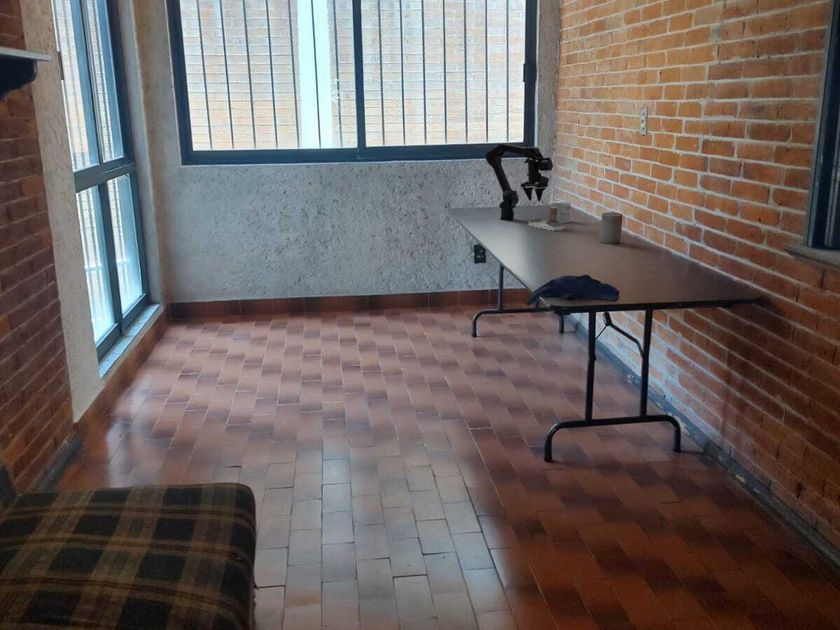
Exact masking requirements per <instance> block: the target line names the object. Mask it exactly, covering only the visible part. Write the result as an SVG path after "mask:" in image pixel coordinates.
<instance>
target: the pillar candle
mask: <svg viewBox="0 0 840 630" xmlns="http://www.w3.org/2000/svg"><path fill="white" fill-rule="evenodd" d="M622 229H623V213H620V212H613V211H612V212H609V211H608V212H602V213H601V224H600V235H599V242H600V243H602V242H603V243H602V244H606V243H608V244H607V245H616V243H618V244H621V236H622Z"/></svg>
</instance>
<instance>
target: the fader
mask: <svg viewBox="0 0 840 630" xmlns="http://www.w3.org/2000/svg"><path fill="white" fill-rule="evenodd" d="M557 208H558V204H555V203H553V204H551V203H550V205H549V217H548V220H547V221H546V222H547V224H548V225H552V223H558V221H557Z"/></svg>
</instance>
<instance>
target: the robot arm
mask: <svg viewBox="0 0 840 630" xmlns="http://www.w3.org/2000/svg"><path fill="white" fill-rule="evenodd" d="M505 152H507V153H513V154H517V155H521V156H523V157H525V158H526V159H525V161H524V164H527V173H526V176H527V177H528V179H527V180H528V181H521V183H520V188H522V190H523V192H524V193H525V196H526V197H527V199H528V201H529V202H531V201H532V197H533V190H534V192H535V195H536V198H537V201H538V202H541V200H542V197H543V194H544V191H545V190H546V189H547V188H548V187H549V182H550V177H547V176H544V175H542V173H541V172H548V171H549V172H550V171H552V170H553V168H554V163H553V161H552V159H551V157H549V156H548V157H544V156H543V154H542V153H541V150H540V148H539V147H537V146H528V147H527V146H520V145H519V146H518V145H513V144H508V143H504V142H502V143H500V144H498V145H497V146H496V147H494V148H493V149H492V150H490V151H487V153H486V154H485V161H486V162H487V164H488V165H489V166H490V167H491V168H492V169H493V172H494V174H495V176H496V179H497V182H498V183H499V186H500V188H501V189H500V190H501V191H502V201H501V202H500V203H499V204H498V205H499V209H501V212H500V218H499V219H500V220H501V219H504V221H513V220H514V219H515V210H514V209H515V208H516V207H517V205H518V204H519V200H520V199H519V197H520V195H519V194H518V191H517V190H513V189H512V188H511V185H510V182H509V180H508V178H507V175H506V173H505V170H504V168H503V166H502V164H503V163H502V159H503V158H502V156H503V155H505ZM540 171H541V172H540ZM512 219H513V220H512Z"/></svg>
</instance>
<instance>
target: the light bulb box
mask: <svg viewBox="0 0 840 630" xmlns="http://www.w3.org/2000/svg"><path fill="white" fill-rule="evenodd" d="M553 203H555V204H558V208H557V221H558V222H565V223H570V219H571V204H572V203H571V202H570V201H560V200H559V201H558V200H555V201H554V200H551V201H550V204H553Z"/></svg>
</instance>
